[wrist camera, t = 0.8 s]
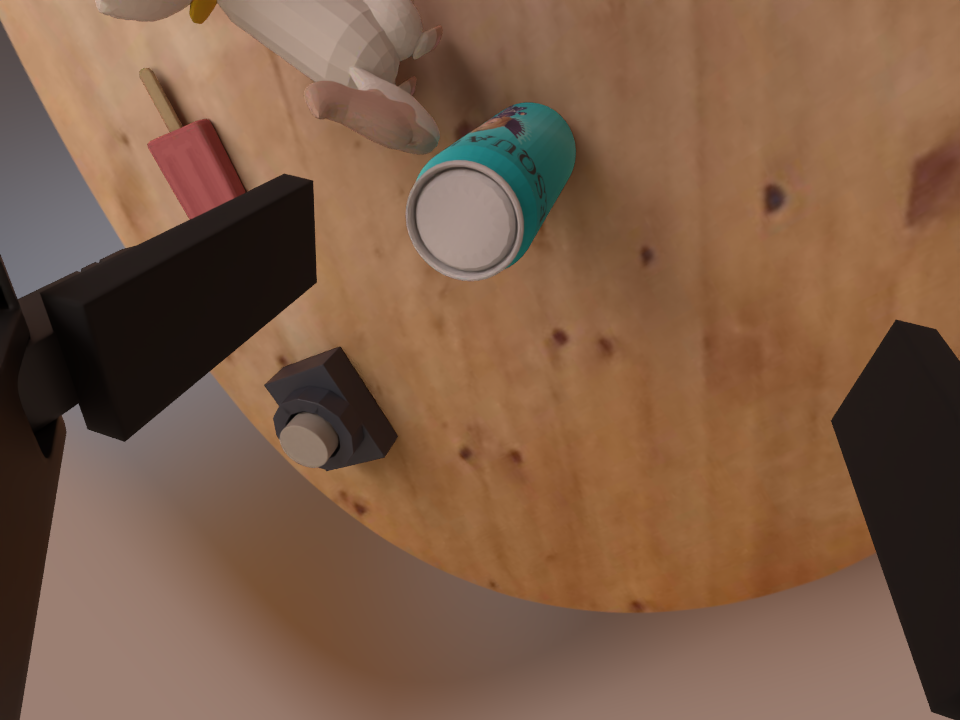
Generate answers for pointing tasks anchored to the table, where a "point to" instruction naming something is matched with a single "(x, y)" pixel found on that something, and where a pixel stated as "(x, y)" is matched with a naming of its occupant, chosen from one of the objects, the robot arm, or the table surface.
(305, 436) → the plunger
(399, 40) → the toy
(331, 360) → the button base
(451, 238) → the beverage can
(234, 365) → the table surface
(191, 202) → the popsicle
